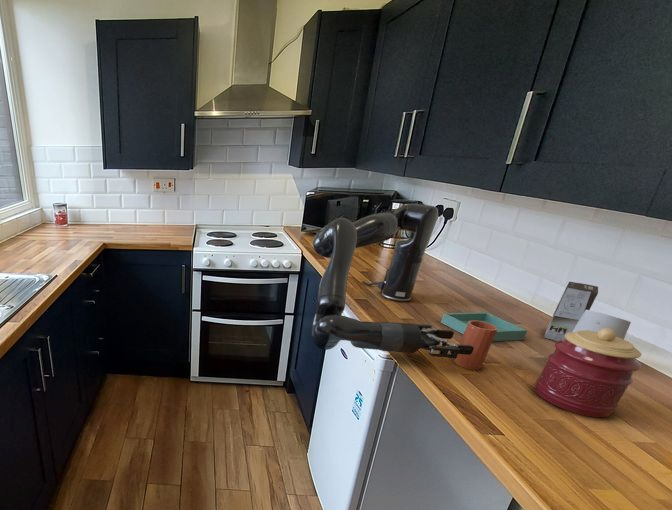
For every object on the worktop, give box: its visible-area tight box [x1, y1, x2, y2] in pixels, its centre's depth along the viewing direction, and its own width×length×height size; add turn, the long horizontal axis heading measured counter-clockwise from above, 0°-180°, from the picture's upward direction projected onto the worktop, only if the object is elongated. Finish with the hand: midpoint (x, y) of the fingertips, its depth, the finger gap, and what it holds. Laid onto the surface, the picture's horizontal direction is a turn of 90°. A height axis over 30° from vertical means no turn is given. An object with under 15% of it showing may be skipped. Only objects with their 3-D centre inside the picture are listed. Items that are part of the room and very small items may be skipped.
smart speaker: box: [572, 309, 632, 340], centre depth 104 cm, size 10×9×14 cm
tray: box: [440, 311, 528, 342], centre depth 122 cm, size 14×16×3 cm
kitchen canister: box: [534, 328, 642, 418], centre depth 85 cm, size 13×13×18 cm
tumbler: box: [453, 320, 497, 371], centre depth 101 cm, size 6×6×11 cm
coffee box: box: [543, 281, 599, 342], centre depth 117 cm, size 9×6×16 cm
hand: (461, 342), depth 101 cm, fingers open, 8 cm apart
